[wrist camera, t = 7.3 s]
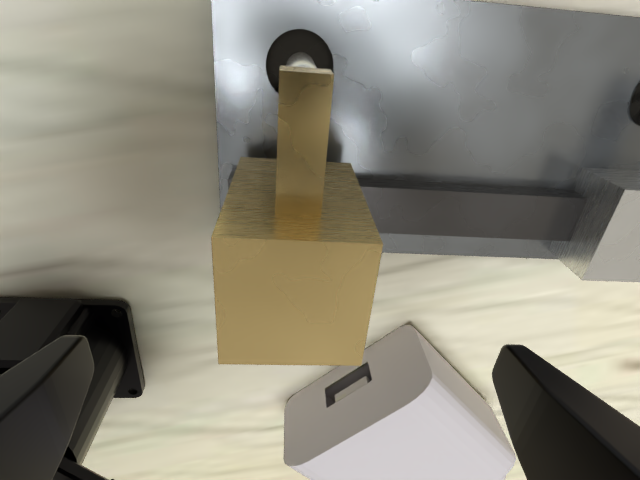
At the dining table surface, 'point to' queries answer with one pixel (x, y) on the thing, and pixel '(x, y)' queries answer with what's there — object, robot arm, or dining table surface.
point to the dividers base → (456, 120)
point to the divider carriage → (295, 242)
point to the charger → (395, 420)
